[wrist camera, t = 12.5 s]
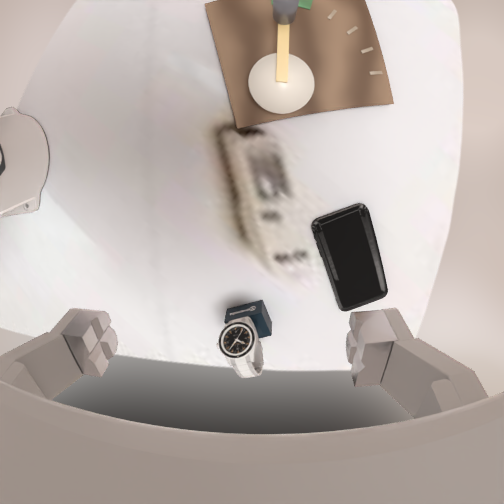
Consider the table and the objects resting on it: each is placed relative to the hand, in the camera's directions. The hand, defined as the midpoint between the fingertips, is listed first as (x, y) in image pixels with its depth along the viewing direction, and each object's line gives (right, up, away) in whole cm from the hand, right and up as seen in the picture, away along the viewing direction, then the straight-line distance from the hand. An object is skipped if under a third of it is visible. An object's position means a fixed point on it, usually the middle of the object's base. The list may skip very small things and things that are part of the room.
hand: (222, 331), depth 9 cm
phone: (+15, +2, +31) cm, 34 cm away
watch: (+1, -7, +35) cm, 36 cm away
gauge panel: (+7, +26, +20) cm, 34 cm away
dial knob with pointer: (+4, +24, +19) cm, 31 cm away
